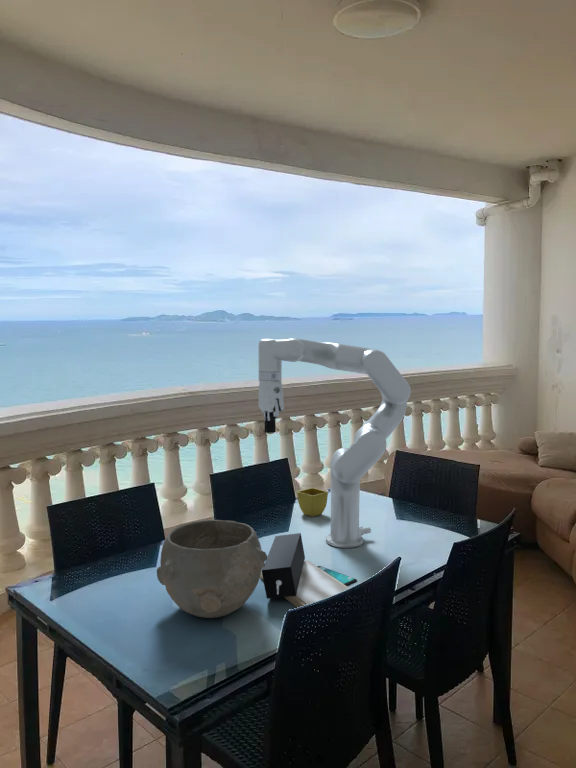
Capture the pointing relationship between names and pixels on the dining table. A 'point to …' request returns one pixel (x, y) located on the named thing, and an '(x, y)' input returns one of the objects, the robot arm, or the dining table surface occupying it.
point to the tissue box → (283, 566)
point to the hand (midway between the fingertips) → (270, 432)
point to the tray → (314, 585)
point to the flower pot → (312, 501)
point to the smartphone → (339, 576)
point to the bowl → (211, 566)
